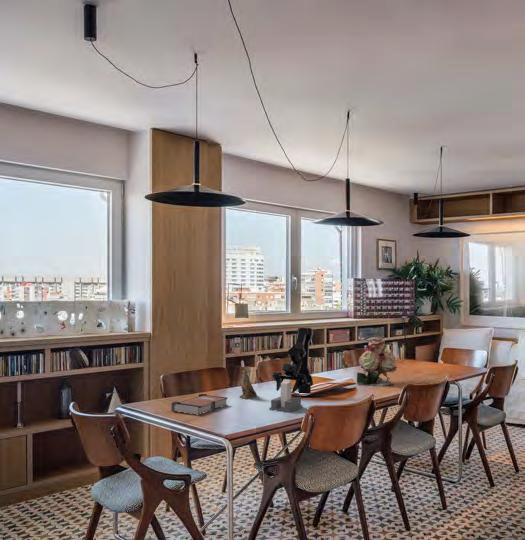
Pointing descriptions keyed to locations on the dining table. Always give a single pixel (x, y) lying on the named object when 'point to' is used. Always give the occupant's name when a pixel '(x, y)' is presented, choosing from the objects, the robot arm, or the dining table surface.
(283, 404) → the grey block
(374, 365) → the rose bouquet
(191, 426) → the dining table surface
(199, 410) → the book
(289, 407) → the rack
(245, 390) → the worn brown figurine
